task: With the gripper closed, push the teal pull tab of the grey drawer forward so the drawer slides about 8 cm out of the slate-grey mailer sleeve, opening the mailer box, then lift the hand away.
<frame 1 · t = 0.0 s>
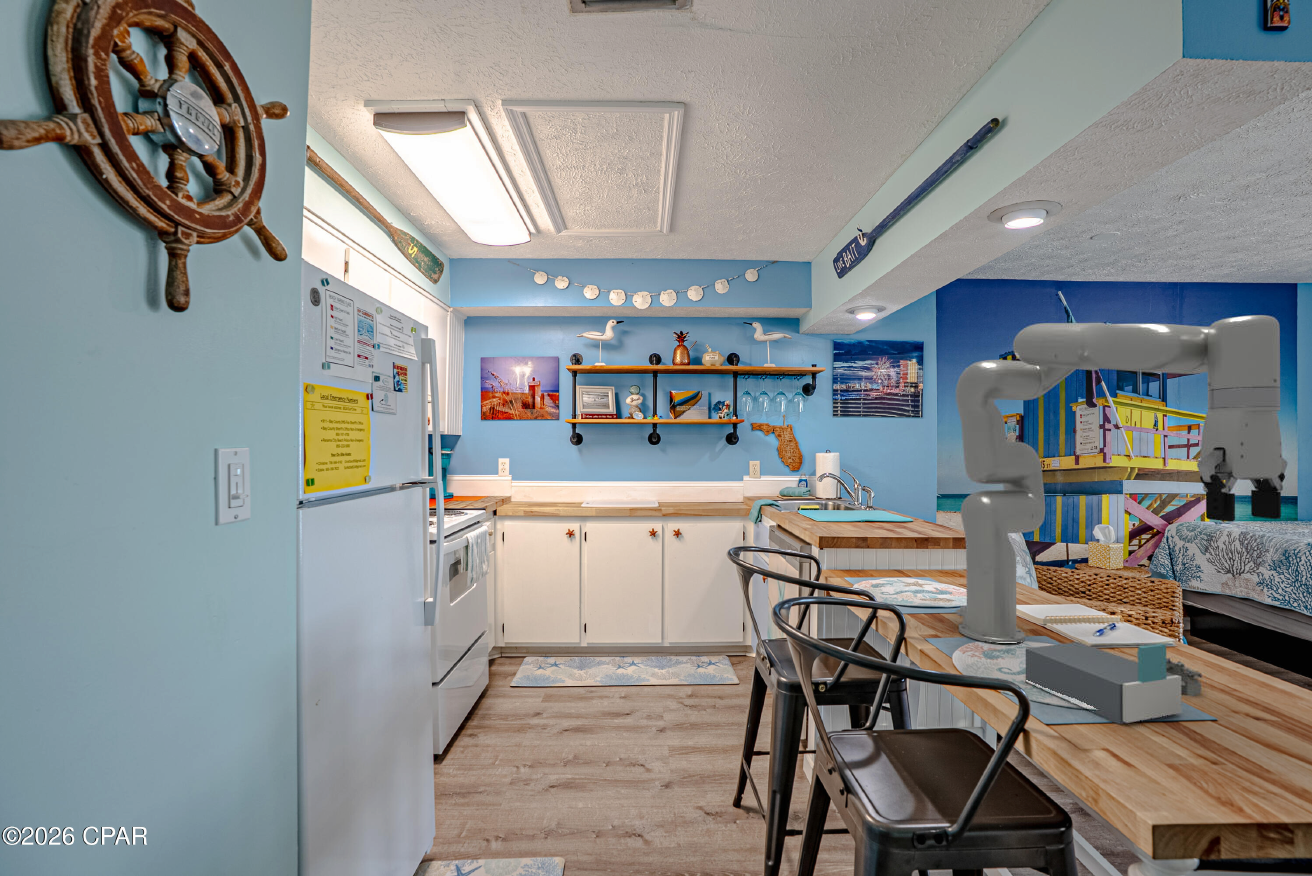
hand: (1243, 518, 86), 31 cm above the breakfast bar, tool pointing down, fingers open, 9 cm apart
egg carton: (1167, 684, 104), on the breakfast bar
mailer sleeve: (1096, 697, 98), on the breakfast bar
grey drawer: (1100, 662, 98), point 6 cm above the breakfast bar, slide at 0.0 cm
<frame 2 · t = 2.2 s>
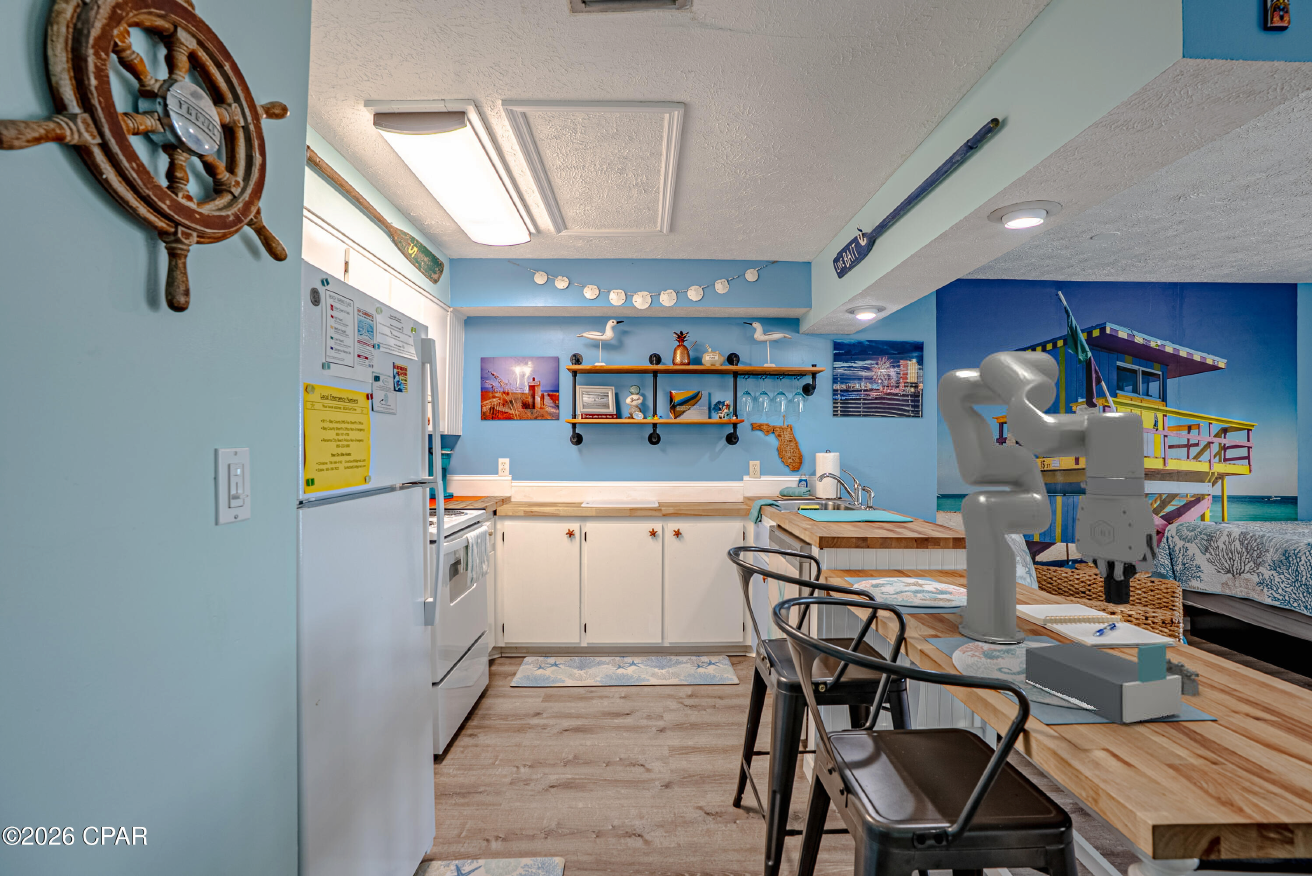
hand: (1117, 602, 95), 17 cm above the breakfast bar, tool pointing down, fingers closed
nothing on the breakfast bar moved.
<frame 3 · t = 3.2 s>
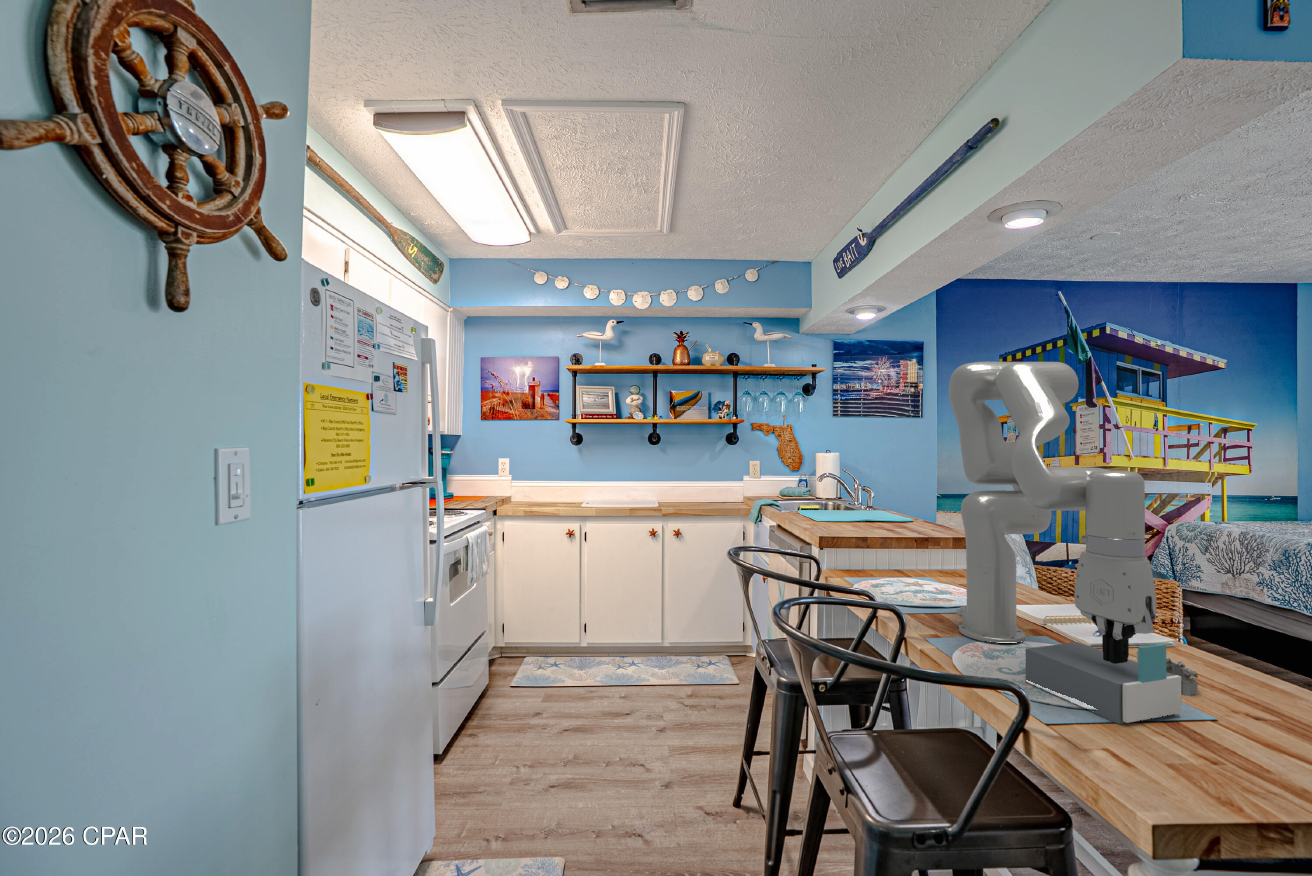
hand: (1115, 660, 95), 7 cm above the breakfast bar, tool pointing down, fingers closed
nothing on the breakfast bar moved.
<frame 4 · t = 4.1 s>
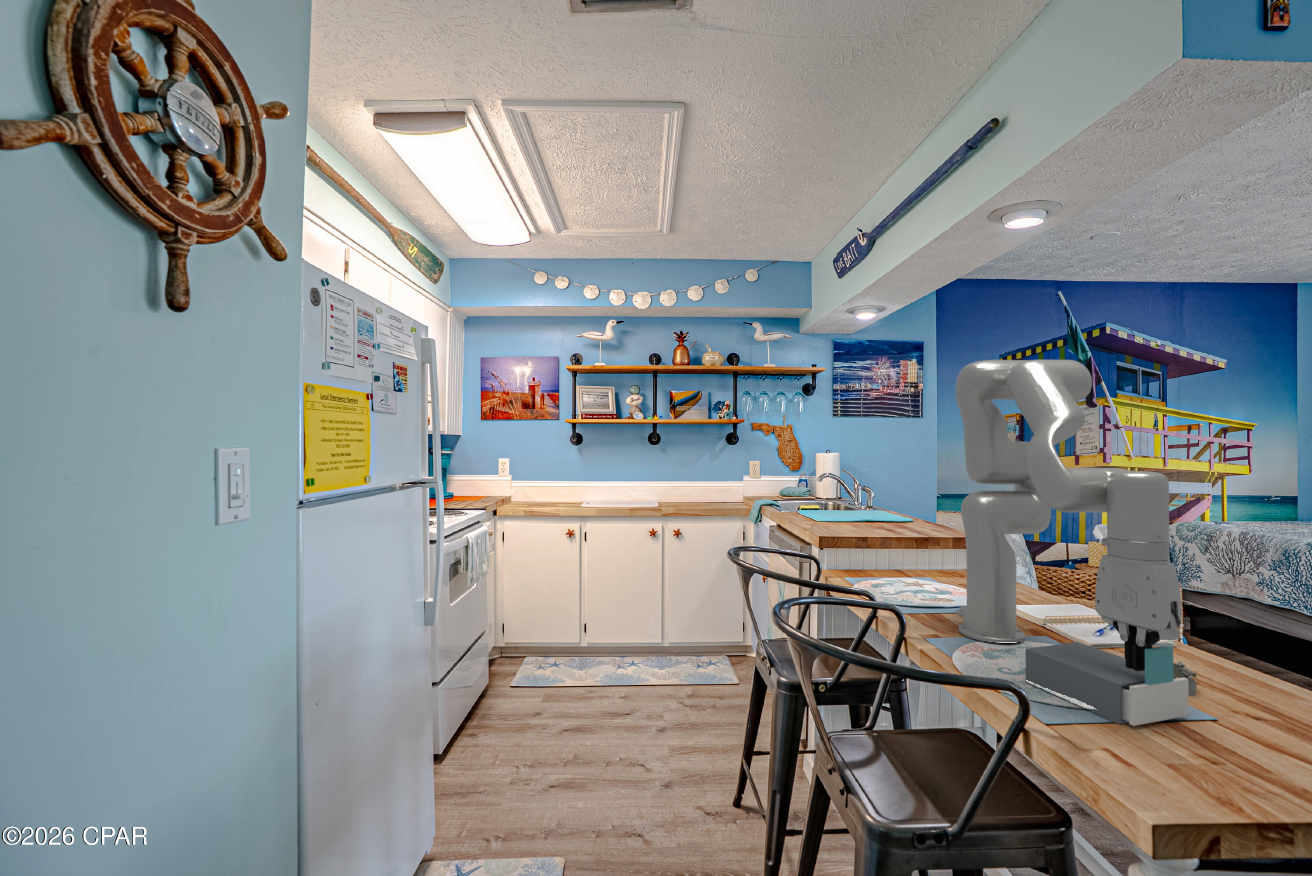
hand: (1138, 668, 92), 7 cm above the breakfast bar, tool pointing down, fingers closed
grey drawer: (1105, 664, 97), point 6 cm above the breakfast bar, slide at 1.0 cm, touching gripper
everything else where it was.
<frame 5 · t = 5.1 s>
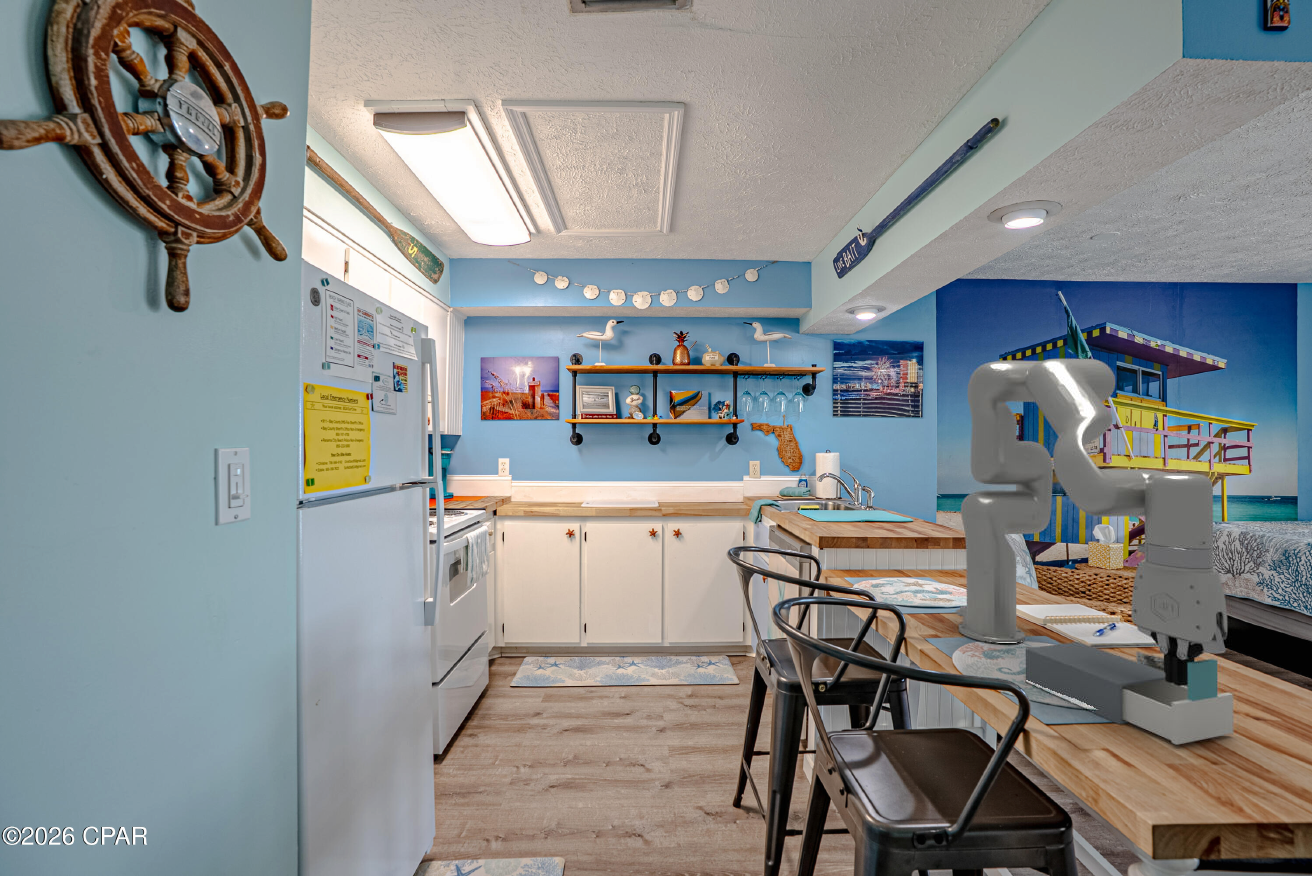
hand: (1179, 682, 86), 7 cm above the breakfast bar, tool pointing down, fingers closed
grey drawer: (1142, 677, 91), point 6 cm above the breakfast bar, slide at 6.6 cm, touching gripper
everything else where it was.
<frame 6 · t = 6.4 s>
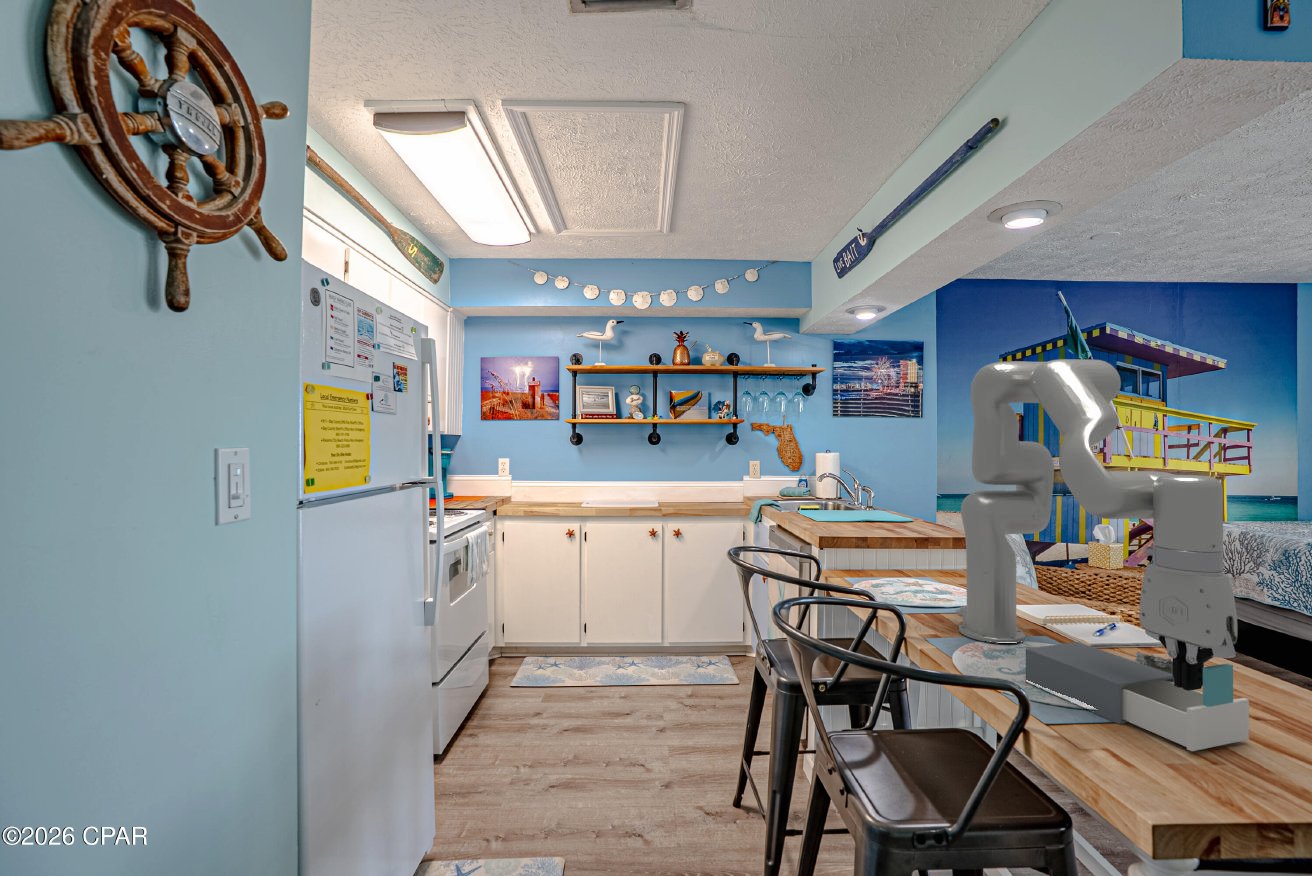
hand: (1188, 687, 85), 7 cm above the breakfast bar, tool pointing down, fingers closed
grey drawer: (1155, 682, 90), point 6 cm above the breakfast bar, slide at 8.4 cm
everything else where it was.
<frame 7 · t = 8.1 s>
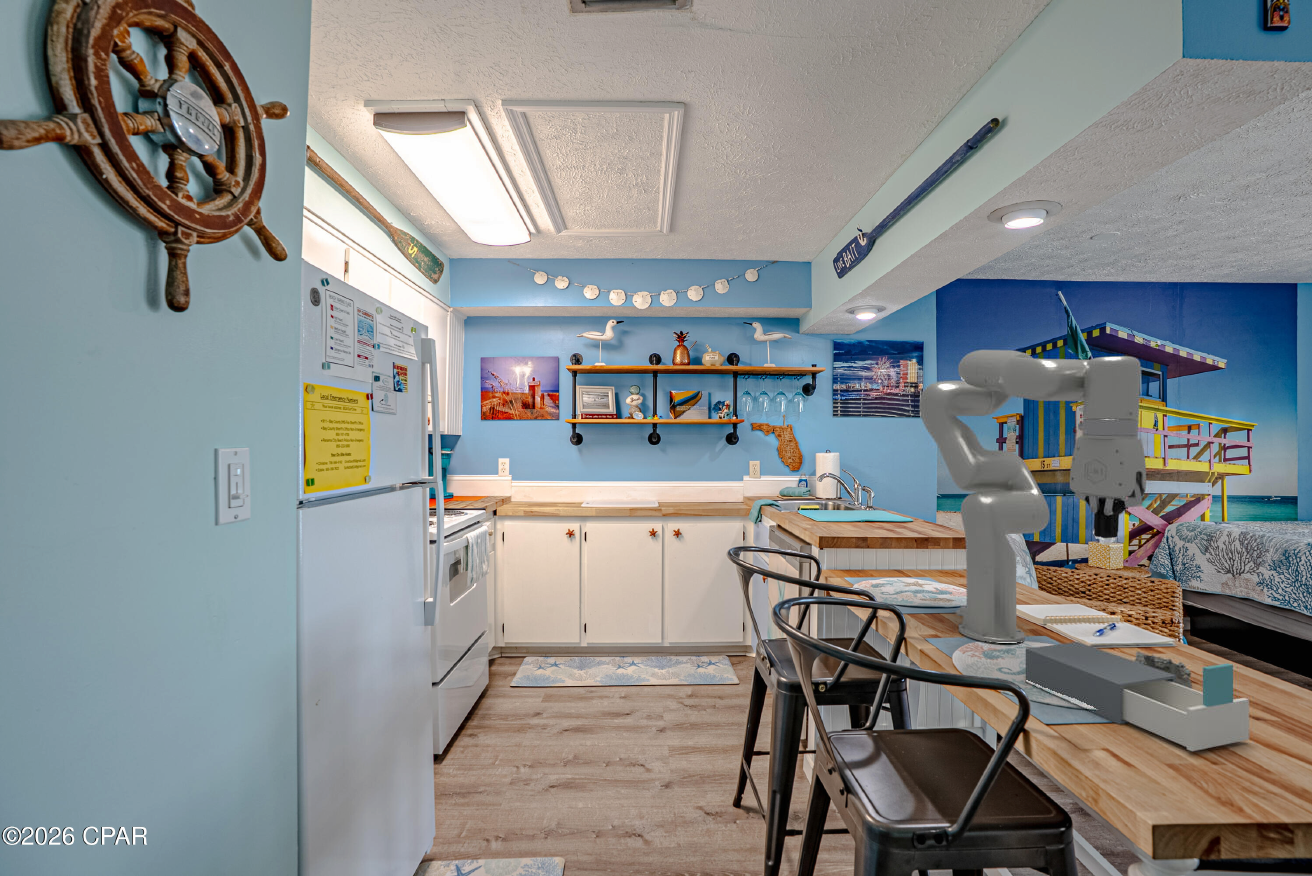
hand: (1105, 536, 101), 26 cm above the breakfast bar, tool pointing down, fingers closed
nothing on the breakfast bar moved.
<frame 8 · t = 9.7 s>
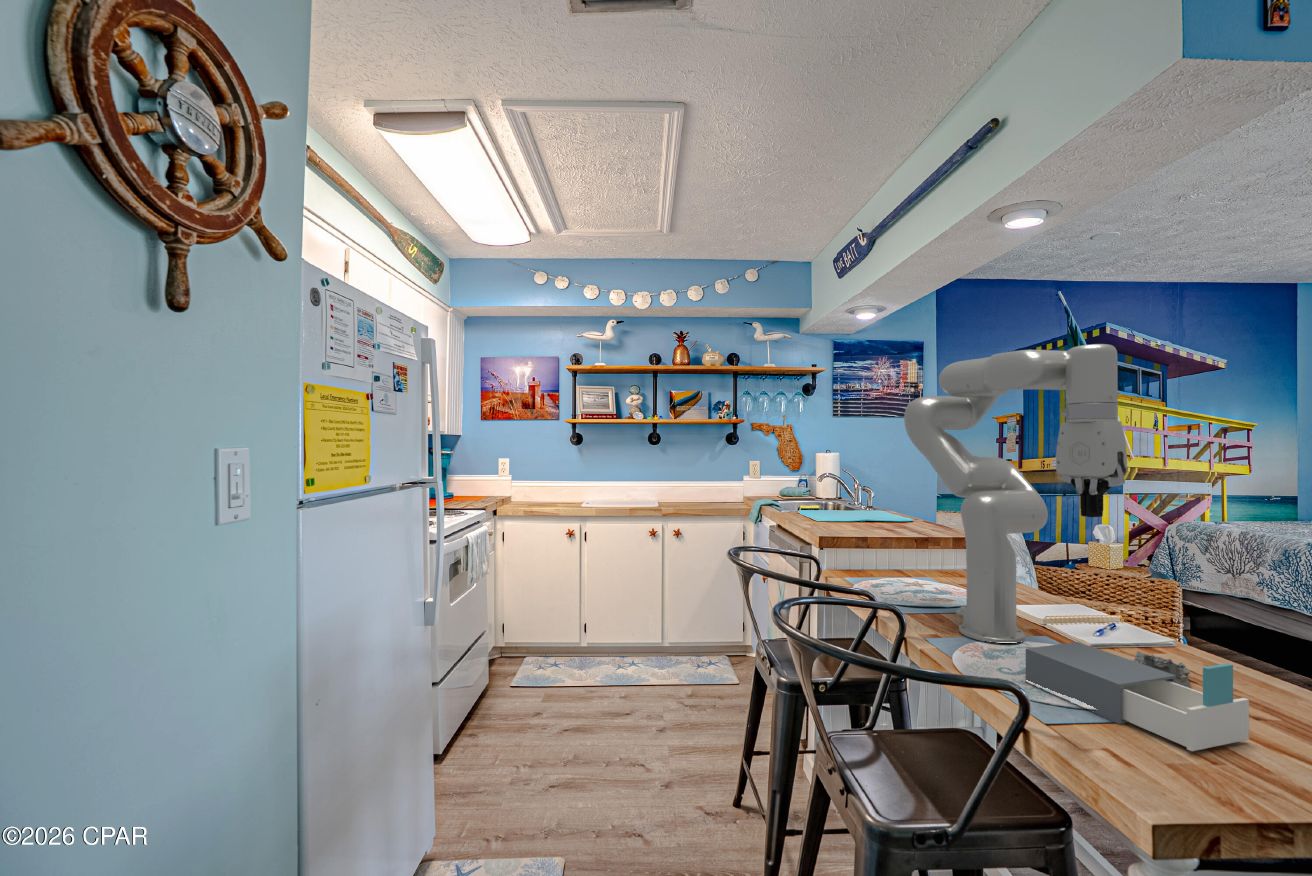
hand: (1091, 516, 106), 29 cm above the breakfast bar, tool pointing down, fingers closed
nothing on the breakfast bar moved.
at the end: grey drawer slide at 8.4 cm; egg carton moved 1.0 cm from its start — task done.
